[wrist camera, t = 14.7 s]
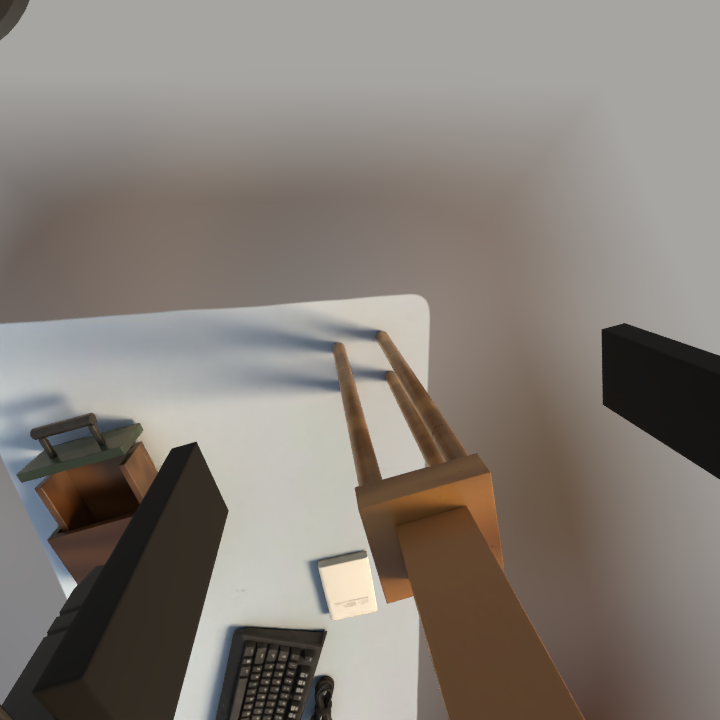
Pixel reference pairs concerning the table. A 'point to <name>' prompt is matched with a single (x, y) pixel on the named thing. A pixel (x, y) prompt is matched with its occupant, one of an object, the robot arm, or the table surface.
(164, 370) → the table surface
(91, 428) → the drawer
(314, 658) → the keyboard
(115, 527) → the cabinet
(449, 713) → the block
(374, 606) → the hard drive
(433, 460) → the stand
